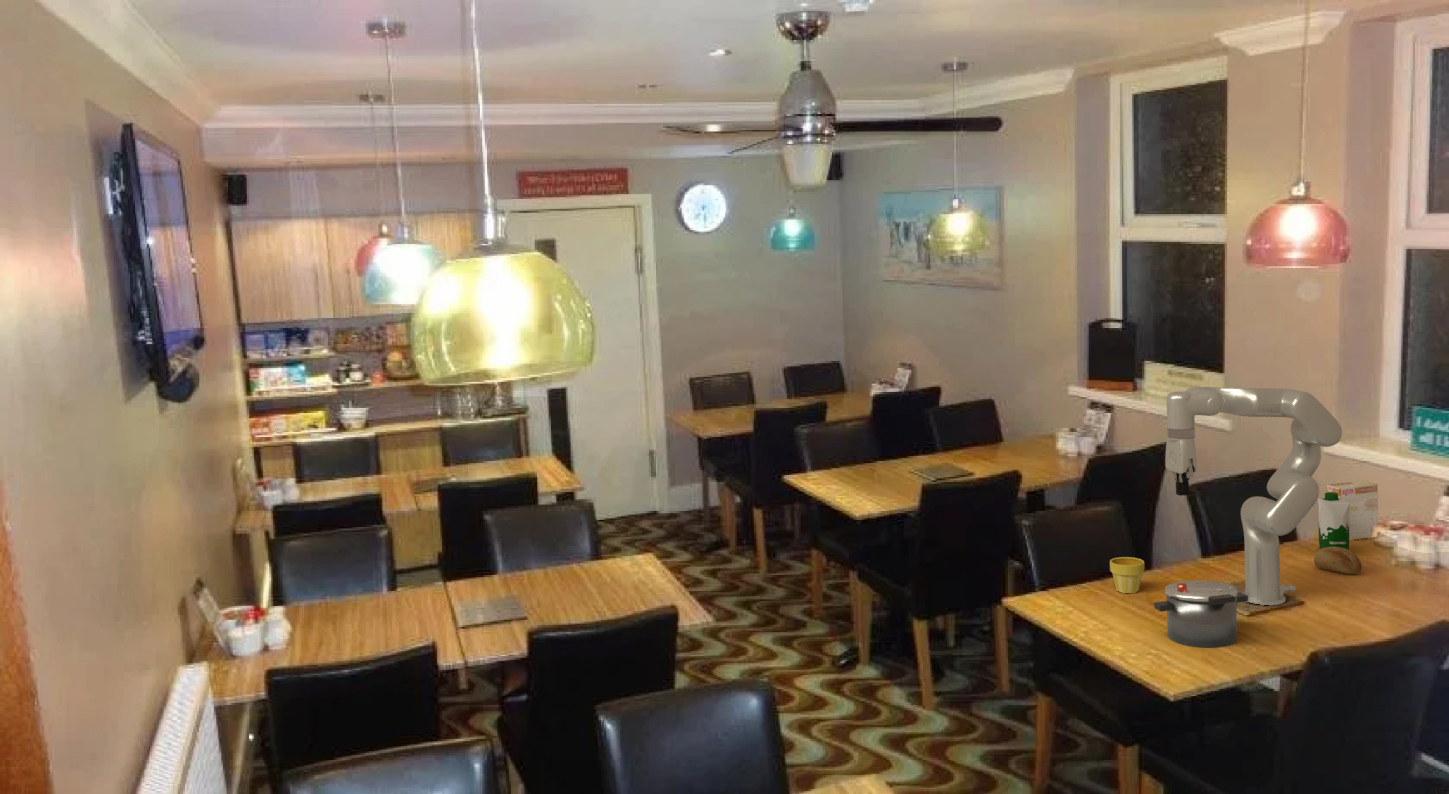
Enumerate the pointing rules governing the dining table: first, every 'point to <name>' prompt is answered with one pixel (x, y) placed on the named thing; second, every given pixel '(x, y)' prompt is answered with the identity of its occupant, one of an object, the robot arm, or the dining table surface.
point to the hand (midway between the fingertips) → (1182, 494)
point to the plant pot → (1127, 573)
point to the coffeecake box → (1359, 506)
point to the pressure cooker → (1201, 621)
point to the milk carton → (1333, 521)
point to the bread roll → (1338, 560)
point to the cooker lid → (1202, 591)
